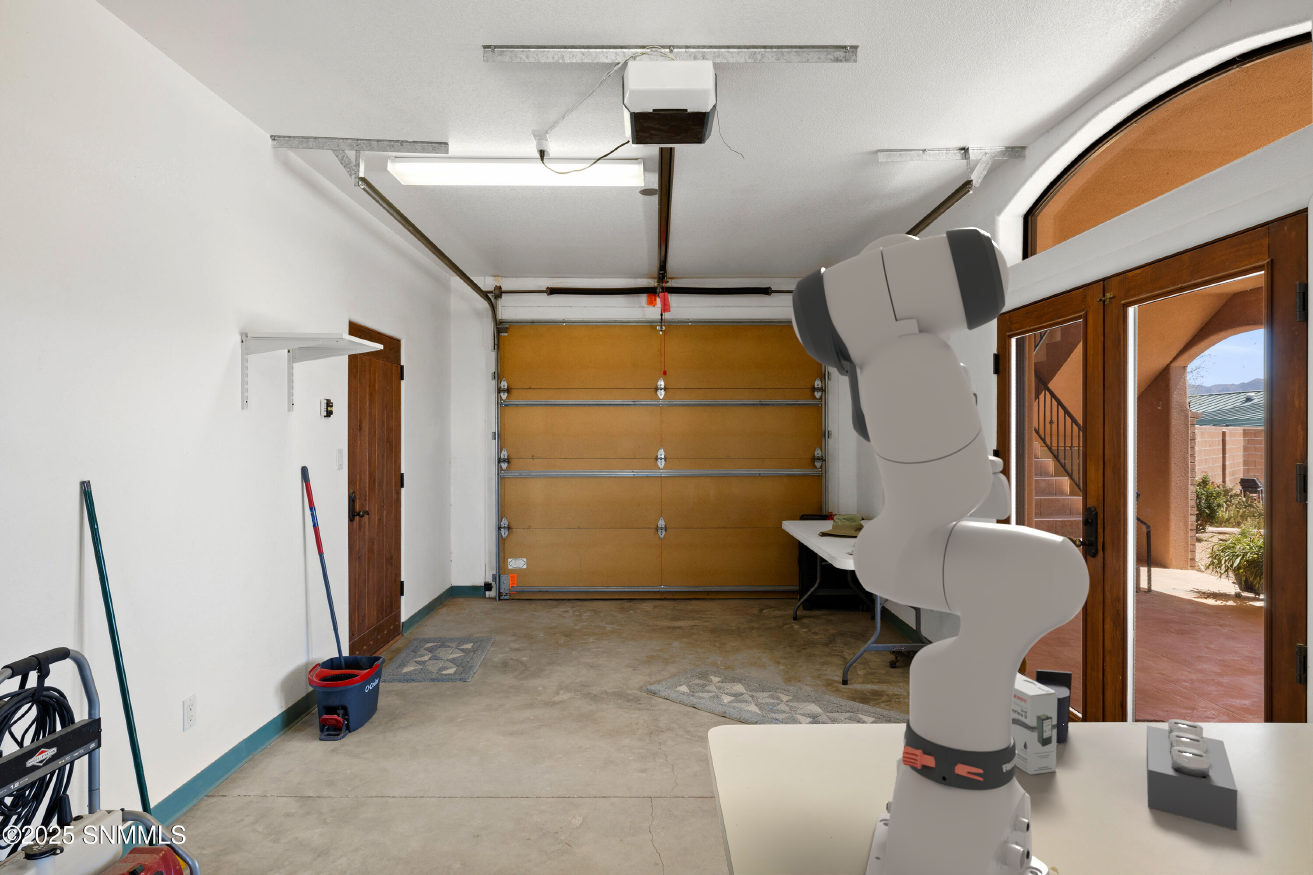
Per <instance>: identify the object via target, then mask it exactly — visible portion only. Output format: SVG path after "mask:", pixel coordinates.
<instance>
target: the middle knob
mask: <svg viewBox="0 0 1313 875" xmlns="http://www.w3.org/2000/svg"><path fill="white" fill-rule="evenodd" d="M1173 747H1187V748H1191V749H1195V750H1198V751H1201V752H1203V753H1205V754H1206V741H1205V740H1203V739H1202V738H1200V737H1197V736H1194V735H1191V734H1186V733H1179V732H1174V733H1171V734H1170V751H1171V749H1172V748H1173ZM1175 772H1178V770H1175Z"/></svg>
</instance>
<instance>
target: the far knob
mask: <svg viewBox="0 0 1313 875" xmlns="http://www.w3.org/2000/svg"><path fill="white" fill-rule="evenodd" d="M1167 723H1168V724H1167V730H1168V736H1169V737H1170V734H1171V733H1174V732H1179V733H1186V734H1191V735H1194V736H1197V737H1200V738H1202V739H1203V737H1204V728H1203V726H1202V725H1200V724H1198V723H1195V722H1193V721H1188V720H1183V719H1179V718H1178V719H1175V718H1174V719H1172V718H1171V719H1169V720H1168V721H1167Z"/></svg>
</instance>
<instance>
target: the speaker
mask: <svg viewBox="0 0 1313 875" xmlns="http://www.w3.org/2000/svg"><path fill="white" fill-rule="evenodd" d="M1072 680H1073V673H1072V671H1061V670H1051V669H1050V670H1049V669H1035V680H1034V681H1035V682H1037V683H1040V684H1042V685H1044V686H1046V687H1048V688H1050V689H1052V690H1054V691H1055V692H1056V693H1057V737H1056V745H1060V744H1063V743H1065V742H1067V740H1068V732H1069V725H1070V723H1069V721H1070V711H1071V710H1070V709H1071V708H1070V706H1071V697H1072V696H1071V694H1072V682H1073V681H1072ZM1063 724H1064V725H1063ZM1068 724H1069V725H1068Z"/></svg>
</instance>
